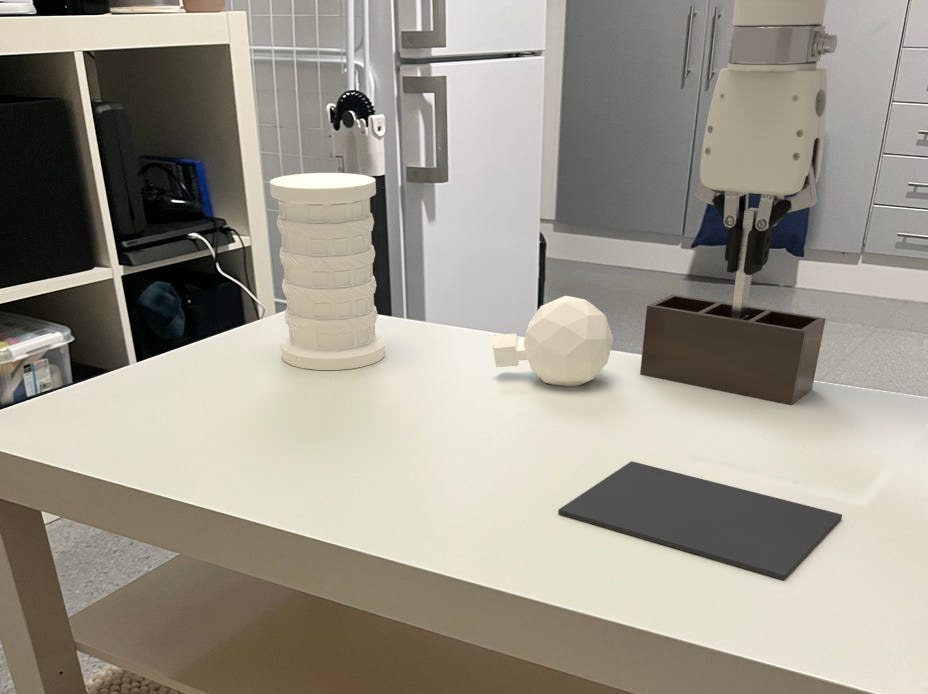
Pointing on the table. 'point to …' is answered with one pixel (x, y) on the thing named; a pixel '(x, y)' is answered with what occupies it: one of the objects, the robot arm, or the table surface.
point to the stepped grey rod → (741, 278)
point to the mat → (705, 518)
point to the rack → (731, 348)
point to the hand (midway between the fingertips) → (744, 270)
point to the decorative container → (328, 270)
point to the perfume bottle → (560, 343)
